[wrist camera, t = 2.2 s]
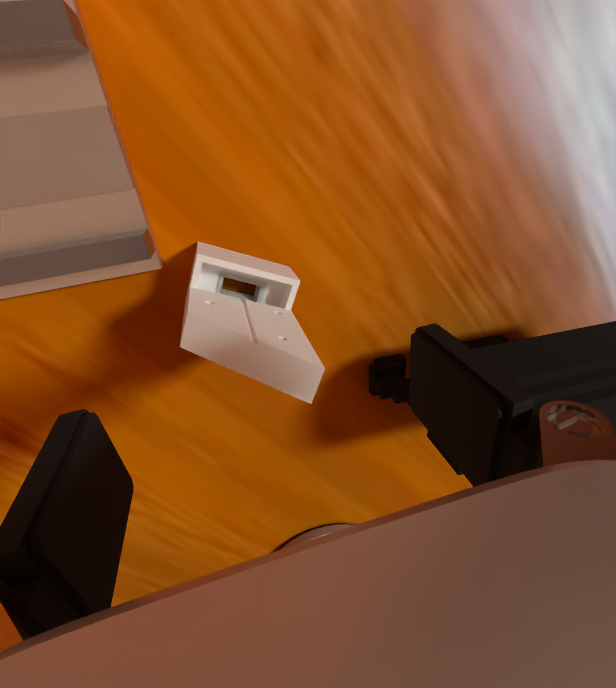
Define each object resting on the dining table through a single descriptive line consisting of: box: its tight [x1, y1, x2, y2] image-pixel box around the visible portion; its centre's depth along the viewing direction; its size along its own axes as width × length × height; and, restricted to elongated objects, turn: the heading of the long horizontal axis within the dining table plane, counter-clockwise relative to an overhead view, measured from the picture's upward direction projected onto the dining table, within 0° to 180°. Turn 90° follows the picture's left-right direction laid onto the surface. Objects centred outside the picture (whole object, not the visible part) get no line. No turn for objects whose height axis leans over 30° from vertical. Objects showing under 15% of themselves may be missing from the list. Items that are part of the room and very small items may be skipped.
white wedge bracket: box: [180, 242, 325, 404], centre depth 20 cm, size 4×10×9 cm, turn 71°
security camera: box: [369, 321, 616, 475], centre depth 26 cm, size 7×18×10 cm, turn 94°
